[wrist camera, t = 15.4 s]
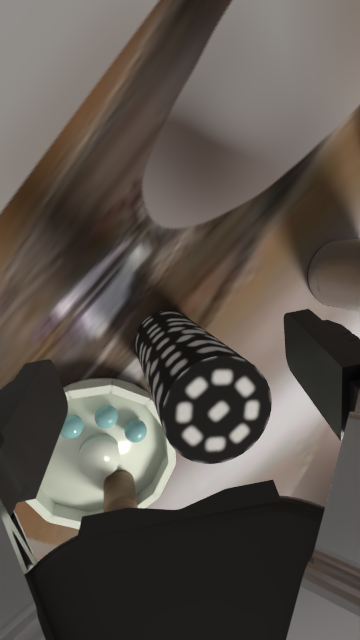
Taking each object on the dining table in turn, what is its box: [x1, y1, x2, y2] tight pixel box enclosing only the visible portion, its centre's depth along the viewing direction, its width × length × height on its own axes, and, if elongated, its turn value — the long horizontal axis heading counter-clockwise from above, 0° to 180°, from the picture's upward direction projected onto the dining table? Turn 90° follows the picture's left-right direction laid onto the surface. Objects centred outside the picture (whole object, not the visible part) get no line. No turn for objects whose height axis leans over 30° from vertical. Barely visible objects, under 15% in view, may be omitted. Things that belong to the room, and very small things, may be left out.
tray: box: [26, 378, 176, 529], centre depth 41 cm, size 19×19×4 cm
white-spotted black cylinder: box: [135, 311, 272, 464], centre depth 33 cm, size 8×8×20 cm
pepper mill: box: [104, 470, 138, 512], centre depth 37 cm, size 4×4×13 cm
